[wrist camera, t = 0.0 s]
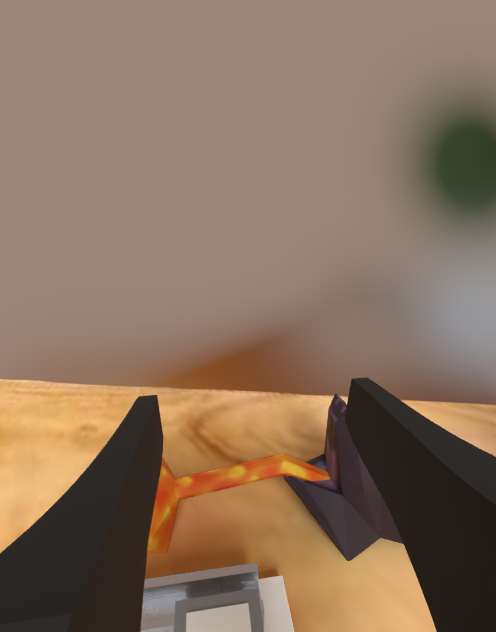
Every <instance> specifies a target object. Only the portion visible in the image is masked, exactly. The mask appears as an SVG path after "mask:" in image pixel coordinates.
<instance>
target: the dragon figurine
mask: <svg viewBox="0 0 496 632" xmlns="http://www.w3.org/2000/svg"><path fill="white" fill-rule="evenodd" d="M346 408H347V405H346V403H345V402H344V401H343V400H342V399H341V398H340V397H339V396H338V395H337V394H335V395H334V398H333V400H332V402H331V405H330V407H329V410H328V421H327V431H326V441H325V451H324V454H323V455H320V456H318V457H316V458H314V459H311V460H309V461H307V462H303V461H301V460H299V459H296V458H294V457H291V456H289V455H287V454H284V453H283V454H279V455H275V456H270V457H266V458H262V459H258V460H253V461H249V462H245V463H241V464H237V465H232V466H228V467H224V468H220V469H215V470H211V471H207V472H203V473H198V474H194V475H190V476H186V477H181V478H177V479H176V478H175V476H174V475H173V473H172V472H171V470H170V469H169V467H168V465H167V464H166V462H165V461H164V459H163V458H162V466H161V472H160V478H159V483H158V489H157V494H156V500H155V506H154V511H153V517H152V522H151V528H150V534H149V541H148V548H147V552H153V553H166V552H167V548H168V544H169V540H170V536H171V532H172V528H173V523H174V519H175V515H176V511H177V507H178V503H179V500H182V499H186V498H190V497H194V496H198V495H202V494H206V493H210V492H214V491H219V490H223V489H227V488H231V487H235V486H239V485H243V484H247V483H251V482H256V481H260V480H264V479H268V478H272V477H276V476H280V475H283V476H284V479H285V481H286V482H287V483H288V484H289V485H290V486H291V488H292V489H293V490H294V491H295V493H296V494H297V495H298V497H299V498H300V499H301V500H302V502H303V503H304V504H305V506H306V507H307V508H308V510H309V511H310V512H311V514H312V515H313V516H314V517H315V519H316V520H317V521H318V523H319V524H320V525H321V527H322V528H323V529H324V531H325V532H326V533H327V534H328V536H329V537H330V538H331V540H332V541H333V542H334V544H335V545H336V546H337V548H338V549H339V550H340V551H341V553H342V554H343V555H344V557H345V558H346V559H347V561H350V560H352V559H353V558H354V557H356V556H357V555H358V554H360V553H361V552H362V551H364V550H365V549H366V548H368V547H369V546H370V545H371V544H373V543H374V542H375V541H377V540H378V539H379V538H384V539H388V540H391V541H395V542H398V543H402V544H404V543H403V541H402V539H401V536H400V534H399V532H398V529H397V527H396V525H395V522H394V520H393V518H392V515H391V513H390V511H389V509H388V507H387V505H386V503H385V501H384V499H383V497H382V496H381V494H380V492H379V490H378V488H377V486H376V485H375V483H374V481H373V479H372V477H371V475H370V474H369V472H368V470H367V468H366V466H365V464H364V463H363V461H362V459H361V457H360V455H359V453H358V451H357V449H356V448H355V446H354V443H353V441H352V438H351V436H350V434H349V431H348V428H347V425H346V423H345V420H344V419H345V414H346Z"/></svg>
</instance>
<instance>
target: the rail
mask: <svg viewBox="0 0 496 632" xmlns="http://www.w3.org/2000/svg"><path fill="white" fill-rule="evenodd" d="M254 588H258V593H259V600H260V607H261V614H262V621H263V628H264V605H263V600H261V598H260V591H259V585H258V565H257V562H256V563H249V564H243V565H236V566H229V567H222V568H216V569H209V570H202V571H195V572H189V573H182V574H175V575H169V576H162V577H155V578H148V579H145V581H144V593H143V605H142V618H141V632H174V617H175V601H179V600H185V599H191V598H197V597H204V596H210V595H216V594H223V593H229V592H235V591H242V590H248V589H254Z"/></svg>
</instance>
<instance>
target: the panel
mask: <svg viewBox="0 0 496 632" xmlns="http://www.w3.org/2000/svg"><path fill="white" fill-rule="evenodd" d="M258 585H259V591H260V598H261V600H263V605H264V632H294V628H293V623H292V618H291V614H290V609H289V604H288V599H287V595H286V590H285V585H284V580H283V576H276V577H269V578H263V579H258Z"/></svg>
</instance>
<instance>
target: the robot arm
mask: <svg viewBox="0 0 496 632" xmlns="http://www.w3.org/2000/svg"><path fill="white" fill-rule="evenodd" d="M344 420H345V423H346V425H347V428H348V431H349V434H350V436H351V438H352V441H353V443H354V446H355V448H356V449H357V451H358V453H359V455H360V457H361V459H362V461H363V463H364V464H365V466H366V468H367V470H368V472H369V474H370V475H371V477H372V479H373V481H374V483H375V485H376V486H377V488H378V490H379V492H380V494H381V496H382V497H383V499H384V501H385V503H386V505H387V507H388V509H389V511H390V513H391V515H392V518H393V520H394V522H395V525H396V527H397V529H398V532H399V534H400V536H401V539H402V541H403V543H404V546H405V548H406V551H407V553H408V556H409V558H410V561H411V563H412V566H413V568H414V571H415V573H416V576H417V578H418V581H419V584H420V586H421V589H422V592H423V594H424V597H425V600H426V602H427V605H428V608H429V610H430V613H431V616H432V619H433V622H434V625H435V628H436V630H437V632H496V457H495V456H493V455H491V454H489V453H487V452H485V451H483V450H481V449H479V448H477V447H475V446H473V445H472V444H470V443H468V442H466V441H464V440H462V439H460V438H459V437H457V436H455V435H453V434H452V433H450V432H448V431H446V430H445V429H443V428H442V427H440V426H438V425H437V424H435V423H434V422H432V421H430V420H429V419H427V418H426V417H424V416H423V415H421V414H419V413H418V412H416V411H415V410H414V409H412V408H411V407H409V406H408V405H406V404H405V403H403V402H402V401H400V400H399V399H397V398H396V397H395V396H393V395H392V394H390V393H389V392H388V391H386V390H385V389H383V388H382V387H380V386H379V385H378V384H376V383H375V382H373V381H372V380H370V379H369V378H356V379H352V380H351V386H350V392H349V397H348V403H347V408H346V414H345V419H344ZM162 453H163V432H162V425H161V419H160V412H159V405H158V399H157V395H151V396H139V397H138V398H137V399H136V401H135V402H134V404H133V406H132V407H131V409H130V410H129V412H128V414H127V415H126V417H125V418H124V420H123V421H122V423H121V424H120V426H119V427H118V429H117V430H116V431H115V433H114V434H113V436H112V437H111V438H110V440H109V441H108V443H107V444H106V445H105V447H104V448H103V449H102V450H101V452H100V453H99V454H98V455H97V457H96V458H95V459H94V460H93V462H92V463H91V464H90V465H89V467H88V468H87V469H86V470H85V471H84V473H83V474H82V475H81V476H80V477H79V478H78V479H77V481H76V482H75V483H74V484H73V485H72V486H71V487H70V488H69V489H68V490H67V491H66V493H65V494H64V495H63V496H62V497H61V498H60V499H59V500H58V501H57V502H56V503H55V504H54V505H53V506H52V507H51V508H50V509H49V510H48V511H47V512H46V513H45V514H44V515H43V516H42V517H41V518H40V519H39V520H37V521H36V522H35V523H34V524H33V525H32V526H31V527H30V528H29V529H28V530H27V531H25V532H24V533H23V534H22V535H21V536H20V537H19V538H17V539H16V540H15V541H14V542H13V543H12V544H11V545H9V546H8V547H7V548H6V549H5V550H4V551H3V552H1V553H0V632H141V618H142V605H143V593H144V581H145V570H146V559H147V548H148V541H149V534H150V528H151V522H152V517H153V511H154V506H155V500H156V494H157V489H158V483H159V478H160V472H161V466H162Z"/></svg>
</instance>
